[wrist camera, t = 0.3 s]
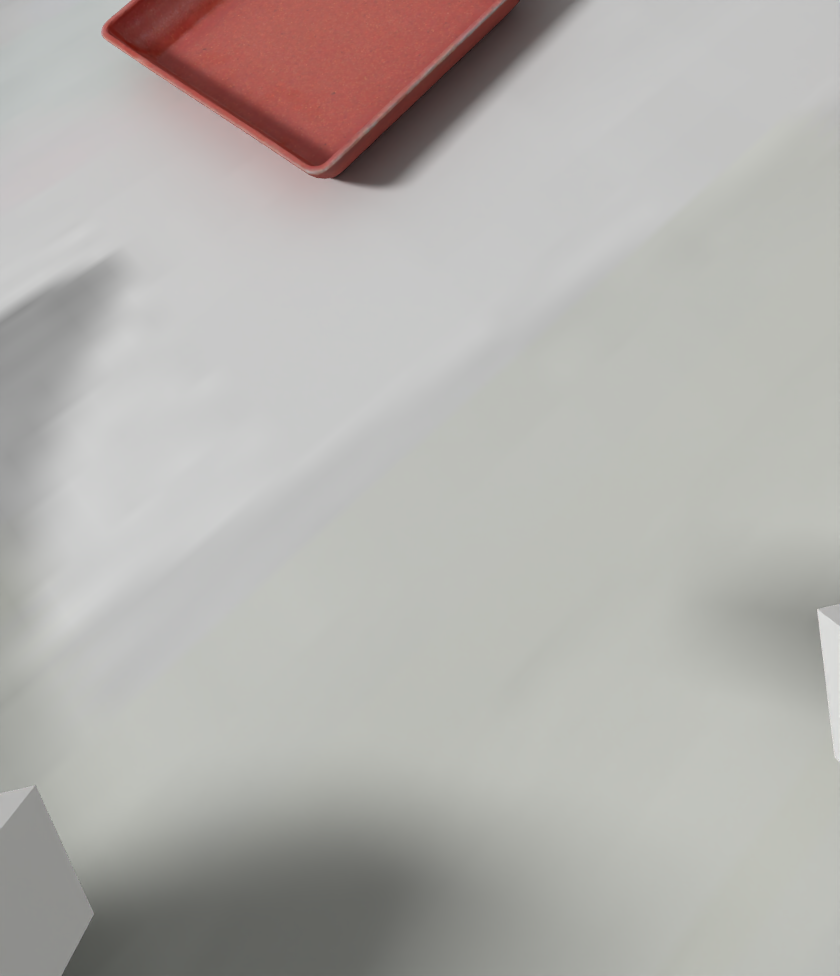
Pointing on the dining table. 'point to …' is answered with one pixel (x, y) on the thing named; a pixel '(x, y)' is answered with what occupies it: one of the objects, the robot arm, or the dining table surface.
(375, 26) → the plant saucer
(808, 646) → the dining table surface
